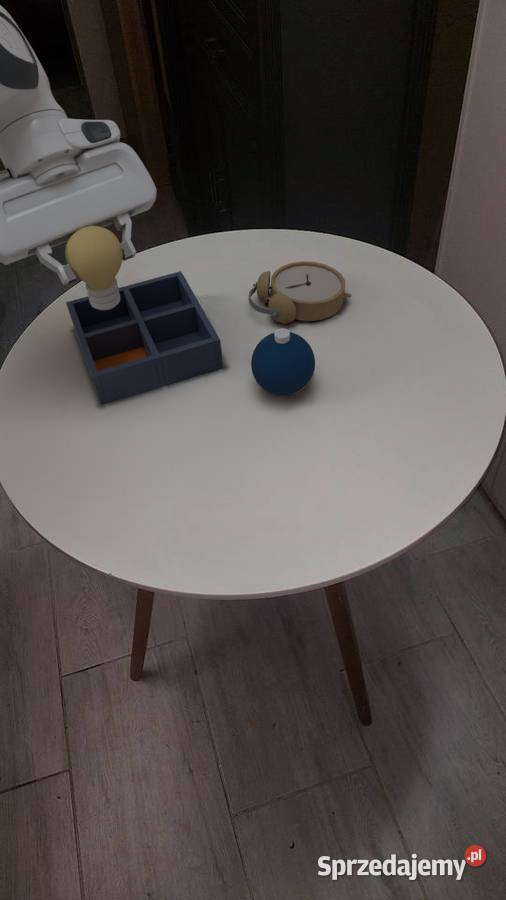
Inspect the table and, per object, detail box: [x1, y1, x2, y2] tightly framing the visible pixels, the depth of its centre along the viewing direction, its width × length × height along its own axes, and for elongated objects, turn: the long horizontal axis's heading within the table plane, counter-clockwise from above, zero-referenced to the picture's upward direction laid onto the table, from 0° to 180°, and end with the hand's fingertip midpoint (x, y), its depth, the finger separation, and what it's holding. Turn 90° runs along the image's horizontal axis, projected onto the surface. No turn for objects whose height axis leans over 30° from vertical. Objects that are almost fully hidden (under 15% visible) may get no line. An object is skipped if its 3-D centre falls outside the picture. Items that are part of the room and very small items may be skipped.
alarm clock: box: [248, 260, 353, 325], centre depth 103 cm, size 11×5×15 cm
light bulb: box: [64, 226, 123, 310], centre depth 80 cm, size 6×6×10 cm
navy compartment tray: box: [65, 270, 224, 405], centre depth 98 cm, size 18×18×5 cm
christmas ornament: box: [250, 327, 316, 397], centre depth 89 cm, size 8×8×10 cm
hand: (101, 269), depth 79 cm, fingers closed on light bulb, 6 cm apart
